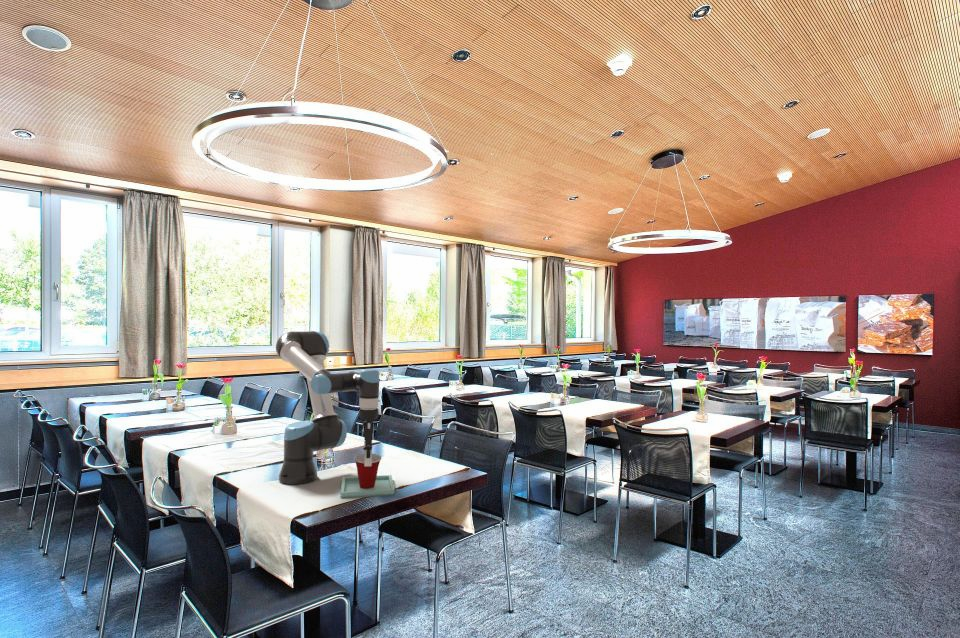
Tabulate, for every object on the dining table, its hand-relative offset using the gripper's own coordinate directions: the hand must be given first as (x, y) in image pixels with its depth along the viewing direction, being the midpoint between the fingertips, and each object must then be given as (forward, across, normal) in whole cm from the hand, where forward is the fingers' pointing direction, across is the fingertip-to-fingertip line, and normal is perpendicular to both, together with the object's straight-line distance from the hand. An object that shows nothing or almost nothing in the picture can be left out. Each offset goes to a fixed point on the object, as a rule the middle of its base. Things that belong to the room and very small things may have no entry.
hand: (367, 461), depth 210 cm
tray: (+11, 0, 0) cm, 11 cm away
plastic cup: (+10, 0, 0) cm, 10 cm away
